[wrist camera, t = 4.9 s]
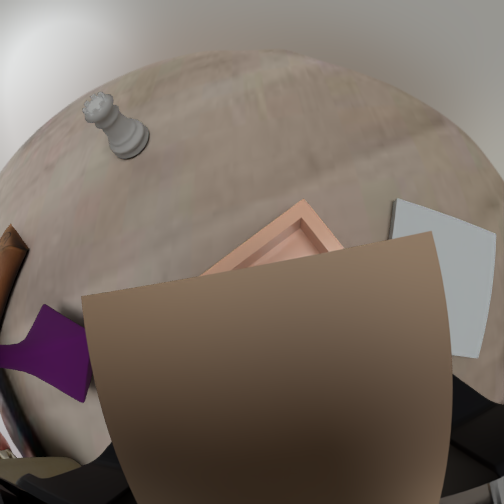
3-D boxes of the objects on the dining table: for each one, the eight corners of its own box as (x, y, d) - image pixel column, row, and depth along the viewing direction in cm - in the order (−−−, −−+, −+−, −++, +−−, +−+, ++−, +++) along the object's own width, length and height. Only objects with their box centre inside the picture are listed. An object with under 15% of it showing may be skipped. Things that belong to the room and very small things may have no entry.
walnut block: (336, 368, 15) (435, 515, 2) (251, 383, 15) (160, 545, 3) (322, 285, 16) (431, 230, 3) (237, 301, 16) (81, 296, 4)
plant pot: (125, 469, 21) (36, 539, 6) (125, 532, 19) (69, 590, 4) (36, 410, 24) (-53, 435, 8) (46, 480, 22) (-19, 513, 6)
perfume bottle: (55, 364, 24) (-75, 382, 7) (63, 304, 25) (-81, 291, 8) (102, 395, 23) (-40, 446, 5) (113, 330, 24) (-58, 343, 6)
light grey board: (472, 356, 19) (477, 358, 18) (366, 339, 21) (370, 341, 20) (490, 236, 20) (496, 234, 19) (393, 201, 22) (396, 198, 21)
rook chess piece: (152, 151, 26) (112, 108, 19) (116, 166, 27) (71, 131, 19) (149, 120, 27) (115, 76, 19) (115, 135, 28) (77, 97, 20)
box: (267, 425, 21) (263, 446, 17) (178, 305, 23) (159, 306, 20) (393, 336, 21) (410, 343, 17) (301, 214, 23) (303, 198, 20)
